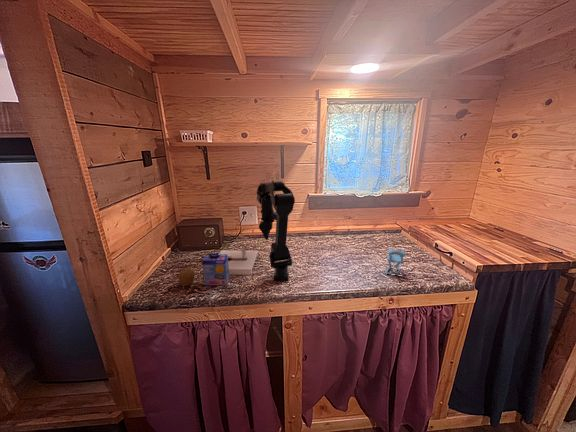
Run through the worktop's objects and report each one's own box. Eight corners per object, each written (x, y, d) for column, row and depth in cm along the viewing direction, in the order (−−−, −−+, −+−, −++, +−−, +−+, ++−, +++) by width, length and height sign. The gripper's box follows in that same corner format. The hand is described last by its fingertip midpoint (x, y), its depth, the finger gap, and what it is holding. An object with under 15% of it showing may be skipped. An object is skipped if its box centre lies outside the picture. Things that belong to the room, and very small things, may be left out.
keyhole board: (251, 274, 106) (251, 269, 105) (208, 274, 106) (208, 268, 106) (258, 255, 125) (257, 250, 124) (221, 255, 126) (221, 250, 125)
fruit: (197, 281, 101) (195, 265, 99) (191, 289, 95) (189, 272, 93) (184, 281, 101) (181, 264, 99) (176, 289, 95) (174, 272, 93)
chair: (401, 268, 111) (404, 246, 108) (403, 277, 103) (407, 253, 100) (384, 266, 113) (387, 243, 110) (385, 274, 106) (388, 250, 103)
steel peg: (248, 266, 114) (247, 249, 111) (239, 266, 114) (238, 249, 111) (249, 262, 118) (248, 246, 115) (241, 262, 118) (240, 246, 115)
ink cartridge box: (204, 286, 97) (200, 255, 93) (207, 279, 103) (204, 249, 99) (227, 285, 98) (224, 254, 94) (229, 278, 103) (227, 248, 99)
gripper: (282, 212, 106) (282, 243, 111) (283, 203, 124) (283, 230, 128) (258, 212, 106) (259, 243, 111) (263, 203, 124) (264, 230, 129)
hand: (267, 236), depth 120 cm, fingers open, 9 cm apart
